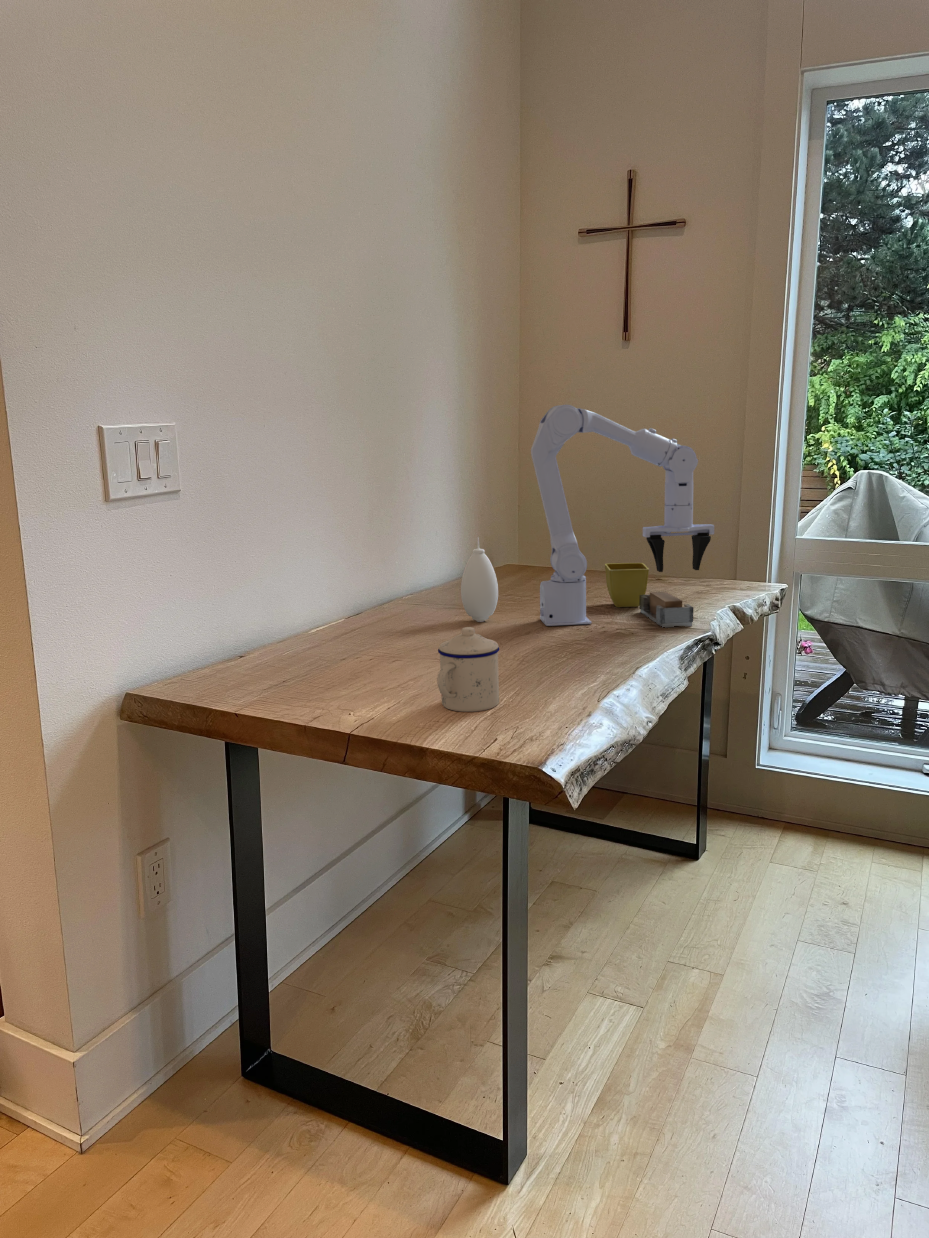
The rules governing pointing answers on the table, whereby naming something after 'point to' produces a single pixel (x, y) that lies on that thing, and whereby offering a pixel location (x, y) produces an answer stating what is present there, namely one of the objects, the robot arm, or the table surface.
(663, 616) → the bracket
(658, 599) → the block
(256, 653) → the table surface
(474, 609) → the white rubber air blower
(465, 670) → the teacup with lid
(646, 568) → the flower pot
